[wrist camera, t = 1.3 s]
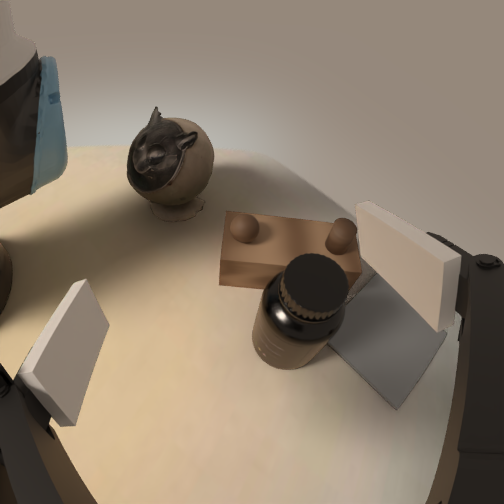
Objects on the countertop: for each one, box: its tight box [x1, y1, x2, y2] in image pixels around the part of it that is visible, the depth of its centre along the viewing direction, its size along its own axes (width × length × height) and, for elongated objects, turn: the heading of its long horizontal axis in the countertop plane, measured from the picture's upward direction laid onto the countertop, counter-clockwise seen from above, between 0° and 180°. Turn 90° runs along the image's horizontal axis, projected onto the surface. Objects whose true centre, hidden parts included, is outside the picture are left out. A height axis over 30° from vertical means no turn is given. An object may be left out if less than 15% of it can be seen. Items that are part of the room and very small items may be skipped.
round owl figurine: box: [127, 107, 214, 221], centre depth 36 cm, size 10×12×10 cm
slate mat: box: [327, 273, 447, 410], centre depth 33 cm, size 12×12×1 cm
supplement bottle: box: [252, 253, 349, 370], centre depth 27 cm, size 7×7×12 cm
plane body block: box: [219, 211, 362, 291], centre depth 33 cm, size 14×6×8 cm, turn 87°
